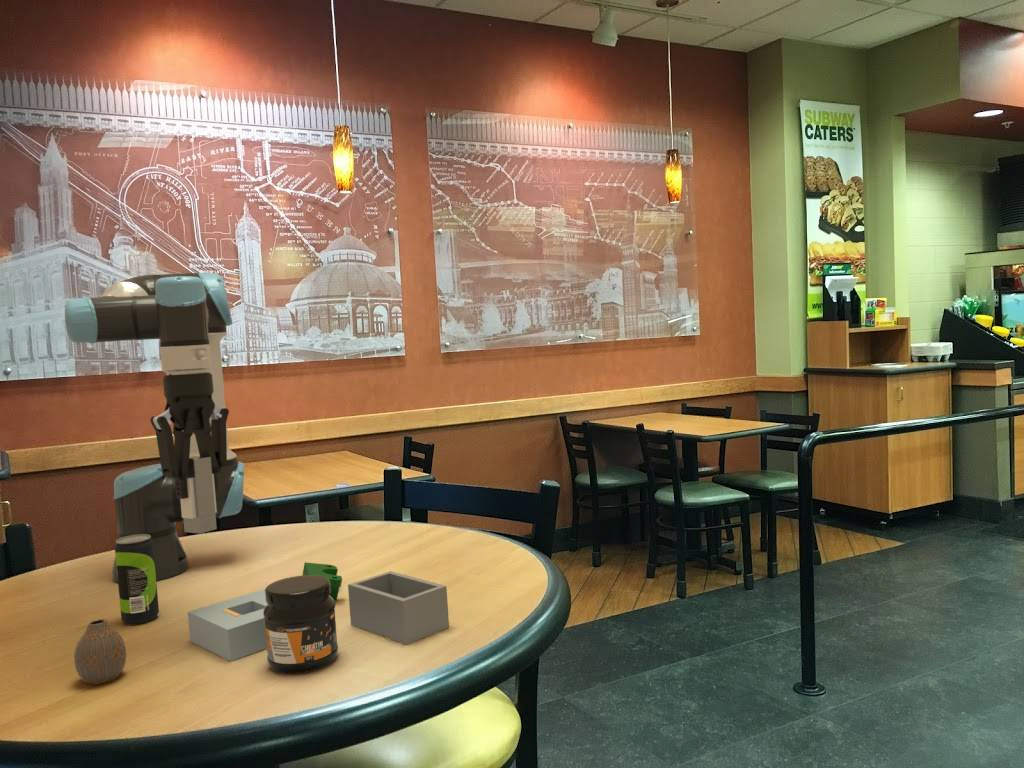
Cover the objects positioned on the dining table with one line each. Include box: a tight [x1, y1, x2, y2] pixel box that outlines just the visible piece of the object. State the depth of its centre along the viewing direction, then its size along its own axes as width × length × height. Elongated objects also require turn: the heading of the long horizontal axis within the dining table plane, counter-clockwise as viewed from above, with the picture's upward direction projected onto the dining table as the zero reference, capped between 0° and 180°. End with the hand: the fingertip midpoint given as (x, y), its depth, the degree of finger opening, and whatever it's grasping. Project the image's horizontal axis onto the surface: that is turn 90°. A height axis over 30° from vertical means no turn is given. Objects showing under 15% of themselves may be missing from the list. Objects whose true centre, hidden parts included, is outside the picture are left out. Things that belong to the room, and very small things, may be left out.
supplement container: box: [263, 575, 339, 675], centre depth 123 cm, size 10×10×12 cm
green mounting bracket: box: [301, 562, 343, 602], centre depth 154 cm, size 12×6×9 cm, turn 14°
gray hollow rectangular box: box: [347, 570, 450, 646], centre depth 136 cm, size 15×9×7 cm, turn 46°
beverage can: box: [114, 534, 160, 626], centre depth 147 cm, size 6×6×15 cm
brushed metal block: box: [183, 456, 218, 534], centre depth 133 cm, size 4×3×12 cm
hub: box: [187, 588, 267, 662], centre depth 135 cm, size 14×14×5 cm
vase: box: [73, 618, 127, 685], centre depth 121 cm, size 7×7×9 cm
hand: (199, 514), depth 133 cm, fingers closed on brushed metal block, 3 cm apart
